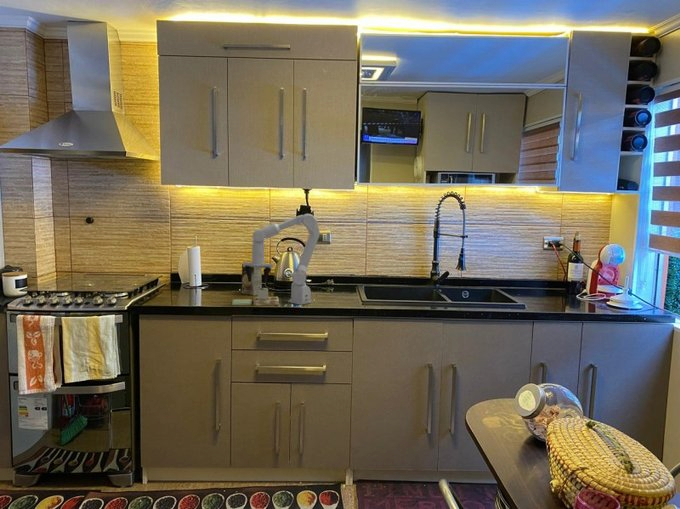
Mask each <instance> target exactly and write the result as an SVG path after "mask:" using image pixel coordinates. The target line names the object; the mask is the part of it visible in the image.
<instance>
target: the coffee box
mask: <svg viewBox="0 0 680 509" xmlns="http://www.w3.org/2000/svg"><path fill="white" fill-rule="evenodd" d="M261 267H262V266H261ZM244 268H245V267H243V263H241V293H242V295H243V294H244V295H248V294H249V296H258V288H262V272H263V271H262V269H263V268H258V267H252V274H251V282H249V281H248V277H247V274H246V271H245V270H244Z"/></svg>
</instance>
